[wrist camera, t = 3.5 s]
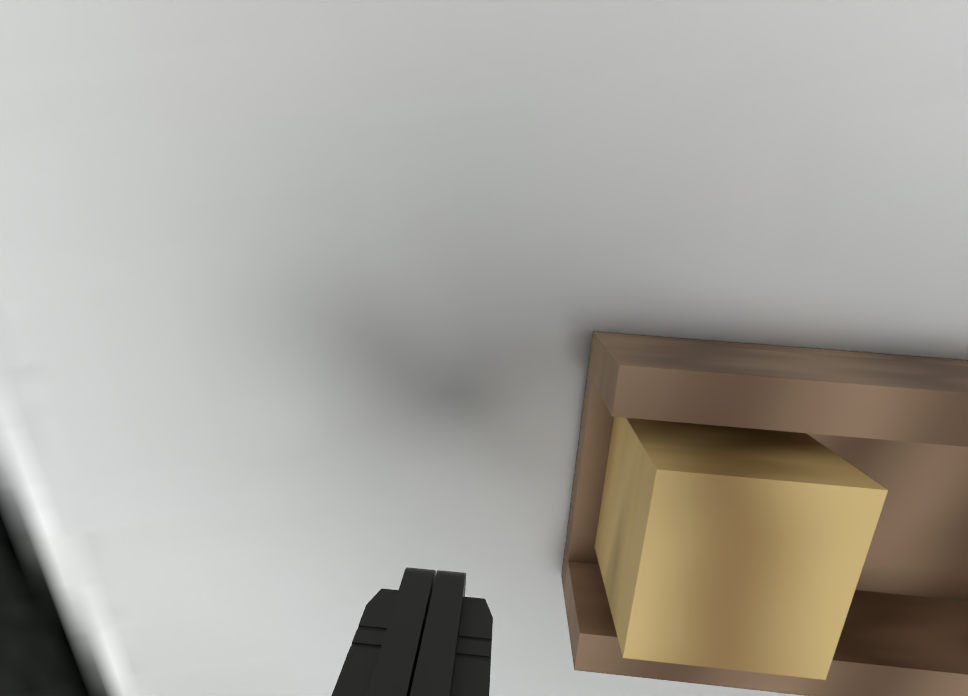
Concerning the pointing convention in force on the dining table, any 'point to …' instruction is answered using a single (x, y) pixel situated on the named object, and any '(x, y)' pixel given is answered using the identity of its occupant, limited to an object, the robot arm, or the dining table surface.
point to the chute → (845, 431)
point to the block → (731, 545)
